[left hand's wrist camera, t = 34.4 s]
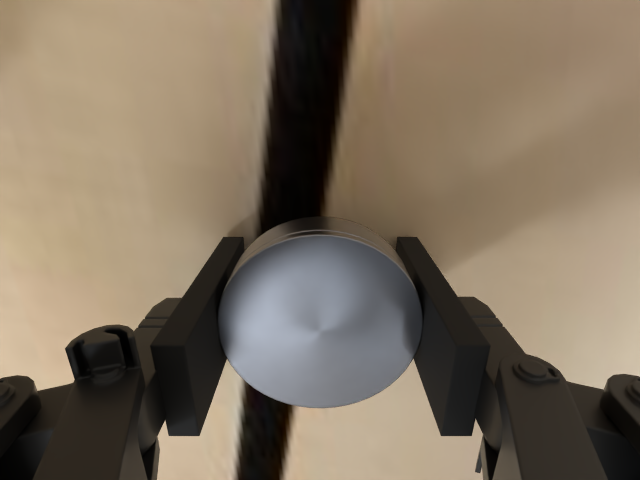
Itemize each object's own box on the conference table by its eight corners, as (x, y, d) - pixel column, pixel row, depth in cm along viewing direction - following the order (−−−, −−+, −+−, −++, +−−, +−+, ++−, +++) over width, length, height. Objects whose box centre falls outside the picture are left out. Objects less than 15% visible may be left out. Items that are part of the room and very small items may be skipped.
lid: (323, 400, 14) (323, 436, 12) (192, 305, 12) (175, 334, 11) (448, 298, 12) (466, 327, 11) (315, 174, 10) (315, 187, 9)
